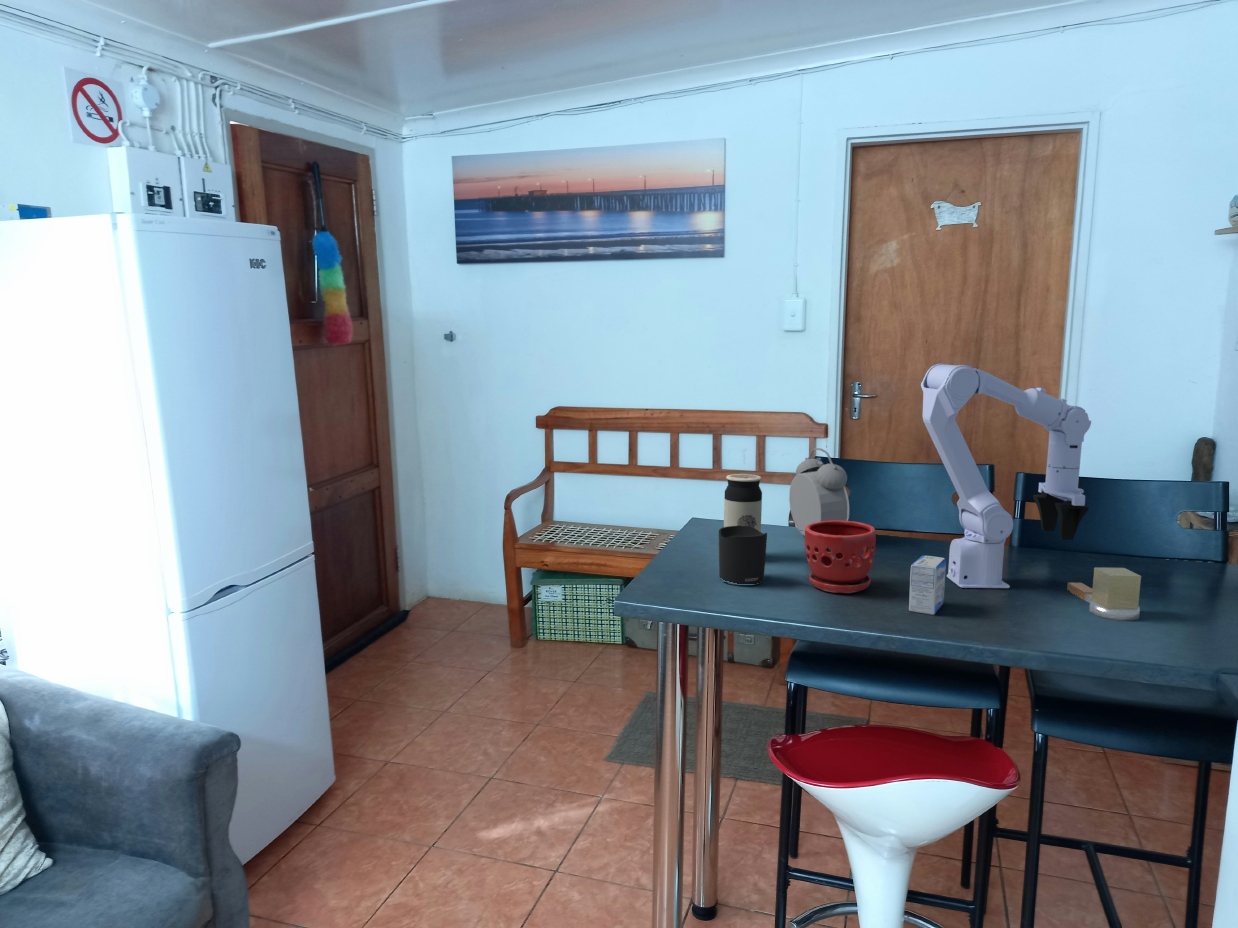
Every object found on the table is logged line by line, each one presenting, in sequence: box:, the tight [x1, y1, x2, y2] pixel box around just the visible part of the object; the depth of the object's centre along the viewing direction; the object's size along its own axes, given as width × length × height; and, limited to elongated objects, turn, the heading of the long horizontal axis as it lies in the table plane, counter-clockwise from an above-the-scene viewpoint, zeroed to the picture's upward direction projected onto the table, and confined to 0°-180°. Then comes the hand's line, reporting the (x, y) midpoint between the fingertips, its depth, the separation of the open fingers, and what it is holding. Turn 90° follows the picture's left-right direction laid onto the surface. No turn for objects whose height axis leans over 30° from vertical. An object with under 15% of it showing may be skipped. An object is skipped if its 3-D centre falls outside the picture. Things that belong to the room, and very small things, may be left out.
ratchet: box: [1066, 582, 1141, 622], centre depth 155 cm, size 18×8×5 cm, turn 179°
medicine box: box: [908, 555, 947, 616], centre depth 152 cm, size 8×4×9 cm, turn 148°
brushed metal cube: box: [1092, 567, 1142, 610], centre depth 149 cm, size 5×5×6 cm
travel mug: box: [723, 473, 763, 533], centre depth 185 cm, size 8×8×18 cm
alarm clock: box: [788, 447, 850, 537], centre depth 202 cm, size 16×9×22 cm, turn 17°
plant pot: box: [804, 520, 877, 595], centre depth 164 cm, size 13×13×12 cm
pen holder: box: [718, 526, 768, 584], centre depth 168 cm, size 9×9×10 cm
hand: (1057, 534), depth 168 cm, fingers open, 7 cm apart
